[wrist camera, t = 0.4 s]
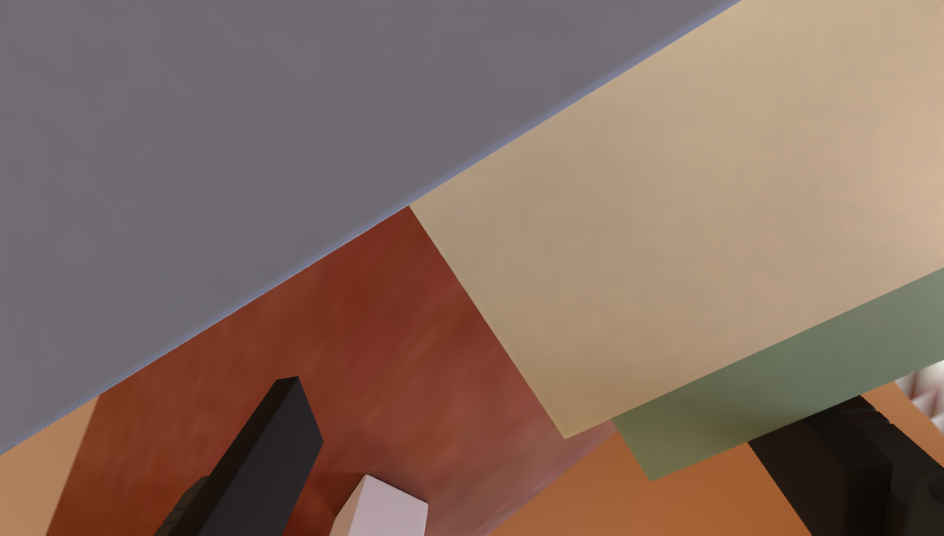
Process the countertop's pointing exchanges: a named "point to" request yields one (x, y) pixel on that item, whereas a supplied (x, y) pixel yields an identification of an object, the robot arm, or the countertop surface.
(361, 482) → the milk carton
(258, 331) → the countertop surface
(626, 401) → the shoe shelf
